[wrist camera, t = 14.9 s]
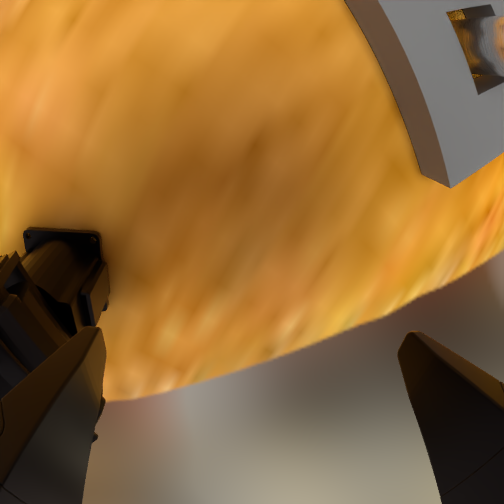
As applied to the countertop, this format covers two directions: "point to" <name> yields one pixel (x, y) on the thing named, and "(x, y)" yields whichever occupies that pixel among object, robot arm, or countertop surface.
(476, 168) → the socket block
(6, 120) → the countertop surface
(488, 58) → the peg
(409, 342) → the robot arm
